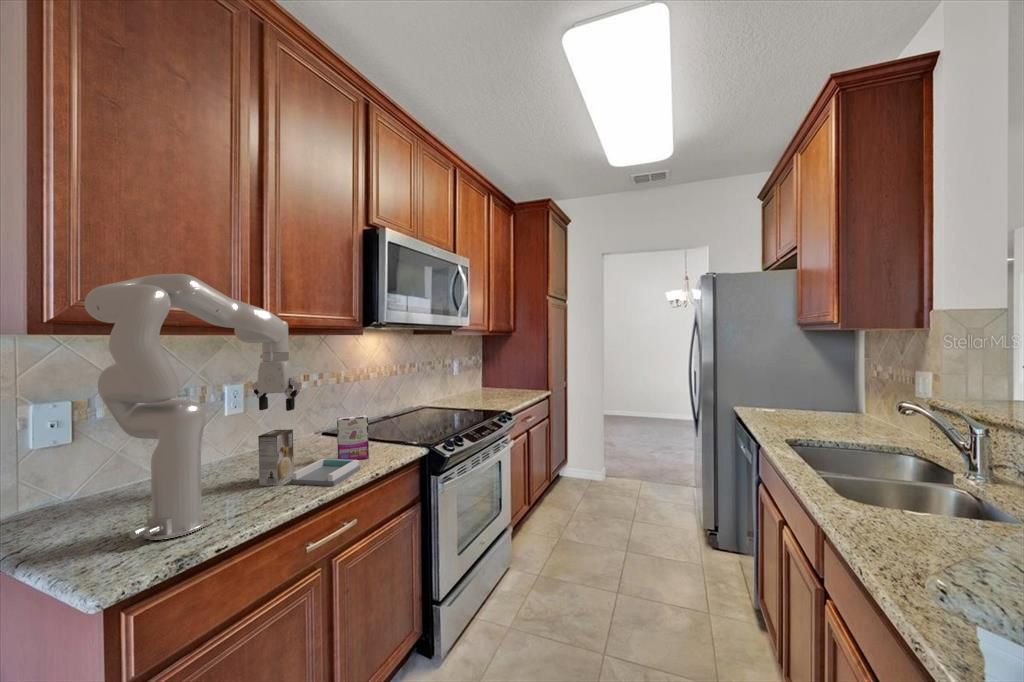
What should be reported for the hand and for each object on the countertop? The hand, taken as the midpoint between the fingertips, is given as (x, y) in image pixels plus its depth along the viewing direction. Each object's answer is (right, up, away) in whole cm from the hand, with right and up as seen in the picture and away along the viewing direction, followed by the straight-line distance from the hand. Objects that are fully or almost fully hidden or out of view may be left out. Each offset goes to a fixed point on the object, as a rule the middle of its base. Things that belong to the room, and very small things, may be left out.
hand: (276, 409), depth 134 cm
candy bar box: (+16, -23, +24) cm, 37 cm away
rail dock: (+15, -23, +4) cm, 28 cm away
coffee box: (0, -24, 0) cm, 24 cm away
